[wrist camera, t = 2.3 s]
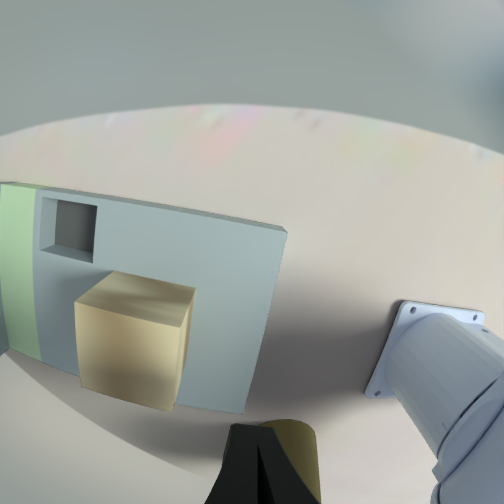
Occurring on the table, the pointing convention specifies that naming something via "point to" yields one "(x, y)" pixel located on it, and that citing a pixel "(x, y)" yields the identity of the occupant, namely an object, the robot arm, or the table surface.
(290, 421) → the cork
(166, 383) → the beech block
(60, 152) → the table surface
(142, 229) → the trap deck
